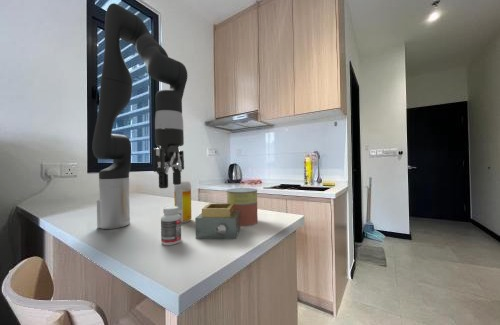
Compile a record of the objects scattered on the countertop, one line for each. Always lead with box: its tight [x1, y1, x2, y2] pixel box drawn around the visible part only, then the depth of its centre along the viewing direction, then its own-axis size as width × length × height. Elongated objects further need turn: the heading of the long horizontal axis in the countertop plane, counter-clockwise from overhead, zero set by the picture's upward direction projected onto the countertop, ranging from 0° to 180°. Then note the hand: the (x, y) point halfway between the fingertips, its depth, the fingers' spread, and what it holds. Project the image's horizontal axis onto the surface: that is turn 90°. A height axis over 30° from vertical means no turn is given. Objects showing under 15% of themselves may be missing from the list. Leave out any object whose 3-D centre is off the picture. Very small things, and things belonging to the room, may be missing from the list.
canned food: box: [226, 187, 259, 228], centre depth 79 cm, size 11×11×12 cm
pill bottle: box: [160, 205, 182, 246], centre depth 60 cm, size 5×5×10 cm
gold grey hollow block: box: [194, 202, 241, 240], centre depth 66 cm, size 12×12×8 cm
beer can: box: [173, 180, 192, 224], centre depth 82 cm, size 6×6×15 cm
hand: (170, 186), depth 60 cm, fingers open, 8 cm apart
